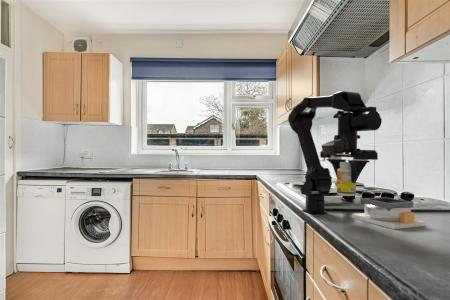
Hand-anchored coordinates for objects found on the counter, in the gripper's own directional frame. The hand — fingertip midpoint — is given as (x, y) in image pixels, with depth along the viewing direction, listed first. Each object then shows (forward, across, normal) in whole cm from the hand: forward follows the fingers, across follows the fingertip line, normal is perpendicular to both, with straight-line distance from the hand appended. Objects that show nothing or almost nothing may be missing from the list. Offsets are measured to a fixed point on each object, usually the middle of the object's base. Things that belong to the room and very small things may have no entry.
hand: (346, 182), depth 99 cm
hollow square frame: (+11, +5, +13) cm, 18 cm away
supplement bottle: (+4, 0, 0) cm, 4 cm away
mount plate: (+12, +4, +13) cm, 18 cm away
